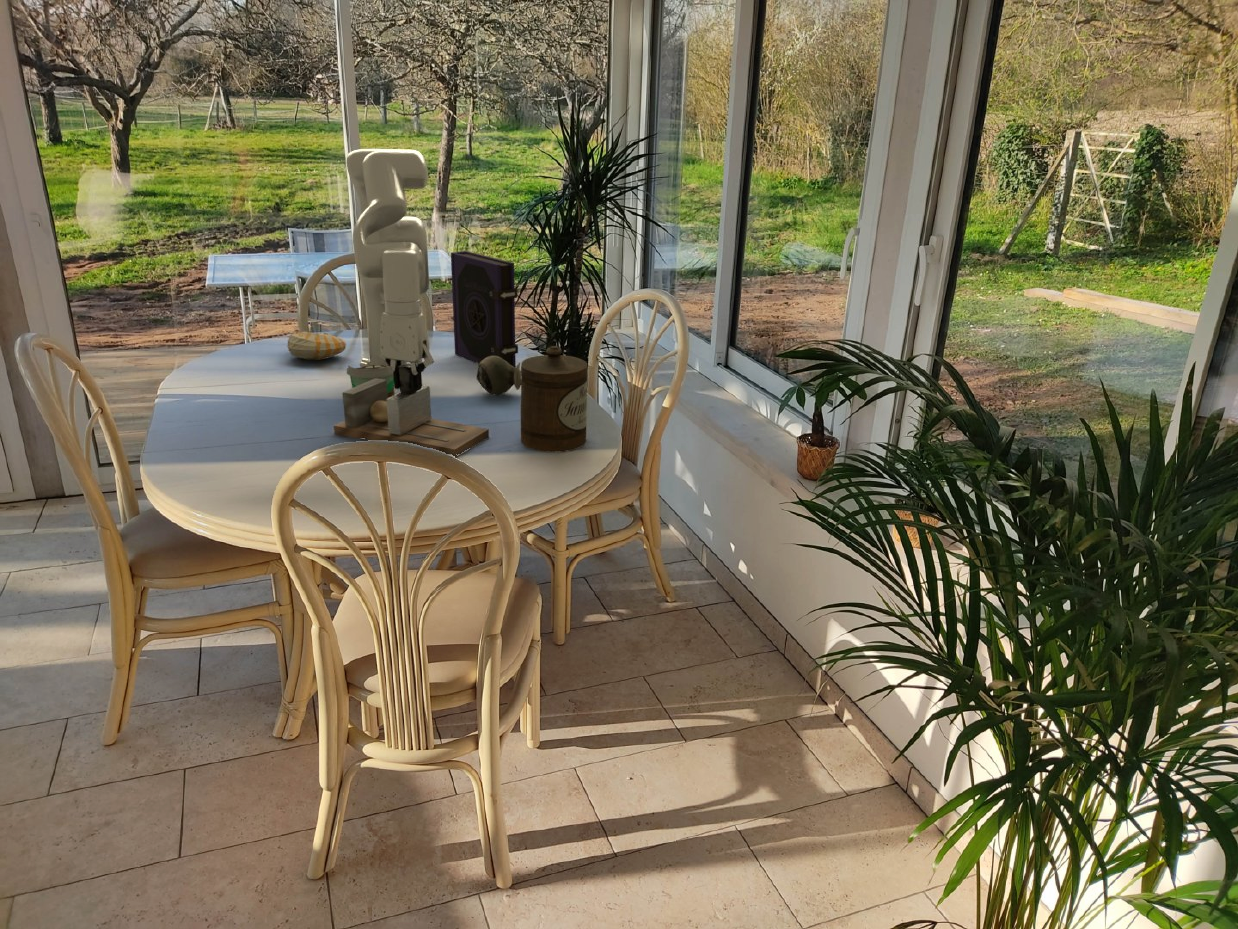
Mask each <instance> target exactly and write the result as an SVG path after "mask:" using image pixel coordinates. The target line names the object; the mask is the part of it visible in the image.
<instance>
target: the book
mask: <svg viewBox="0 0 1238 929" xmlns="http://www.w3.org/2000/svg"><path fill="white" fill-rule="evenodd" d="M450 265H451V266H450V267H451V268H450V269H451V270H450V272H451V292H452V293H451V294H452V314H453V336H454V337H453V339H454V340H453V341H454V342H453V343H454V355H455V356H458V357H460V358H462V359H465V360H467V361H470V362H473V363H475V364H477V362H476V360H477V361H478V362H479V363H480V362H481V361H482V360H484V359H485V358H486V357H489V356H498V357H500V358H502V359H503V360H505V361H507V362H508V363H509V364H510V365H511V366H513V367H515V368H516V367H517V365H516V364H517V363H516V359H517V358H516V354H519V344H516V315H515V314H516V311H515V310H516V308H515V307H516V306H515V300H516V299H517V298H518V289H517V288H516V287H515V263H514V262H511V261H507V260H505V259H499V258H495V257H491V256H488V255H484V254H480V253H476V252H472V251H468V250H466V251H465V250H463V251H456V252H455V251H454V252H450ZM475 359H476V360H475Z"/></svg>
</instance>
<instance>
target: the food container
mask: <svg viewBox="0 0 1238 929" xmlns="http://www.w3.org/2000/svg"><path fill="white" fill-rule="evenodd" d="M346 374H347V375H348V376H349V378H350V383H351V388H354V387H356V386H358V385H361V384H363V383H366V382H368V381H370V380H373V379H375V378H378V379H384V380H387V393H388V398H389V397H392V396H394V395H395V387H394V378H393V371H391V370H390V366H389V365H369V366H365V367H353V366H350V365H349V364H348V366H347V368H346Z"/></svg>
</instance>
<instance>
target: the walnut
mask: <svg viewBox="0 0 1238 929" xmlns="http://www.w3.org/2000/svg"><path fill="white" fill-rule="evenodd" d="M370 415H371V417H372V418H373V419H374V420H375V421H377V422H386V421H388V413H387V402H386V401H376V402H375V403H373V404H372V406H371V408H370Z"/></svg>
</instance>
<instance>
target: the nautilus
mask: <svg viewBox="0 0 1238 929" xmlns="http://www.w3.org/2000/svg"><path fill="white" fill-rule="evenodd" d="M287 333H288V334H290V335H287V337H288V339H287V346H286V347H287V349H288V351H289V353H290V354H291V355H292V356H294V357H295V358H298V359H305V360H307V361H308V360H309V361H320V360H324V359H328V358H330V357H331V358H332V357H334V356H335V355H339V354H342V352H344V351H345V350H346V347H347V344H346V342H345V340H343V339H342V338H340V337H338V336H334V335H332V334H329V333H326V332H322V333H319V332H318V333H315V332H308V331H300V332H297V331H296V332H295V331H292V330H290V331H287Z"/></svg>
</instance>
